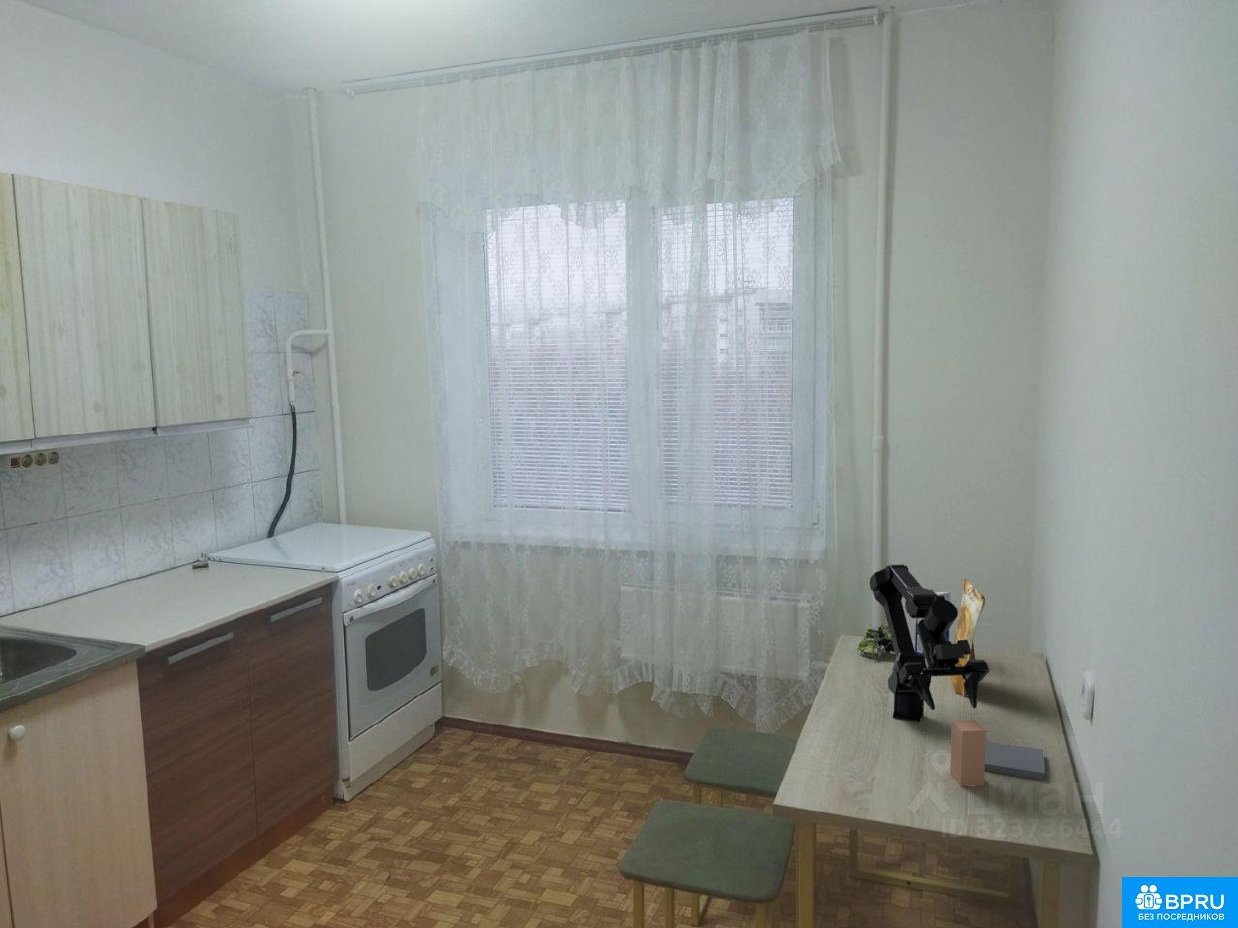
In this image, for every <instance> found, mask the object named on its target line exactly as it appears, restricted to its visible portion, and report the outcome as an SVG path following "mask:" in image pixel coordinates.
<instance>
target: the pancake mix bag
mask: <svg viewBox="0 0 1238 928" xmlns="http://www.w3.org/2000/svg"><path fill="white" fill-rule="evenodd" d="M961 580H962V593H961V594H962V595H961V603H960V610H959V614H958V615H959V616H958V621H957V626H956V630H955V635H954V641H953V644H957V641H959V640H968V643H969V645H970V650H971V653H970V654H968V655H964V658H959V662H958V664H955V666H956V667H957V666H965V664H966V663H967V662H968V660H976V653H975V646H974V636H975V633H976V628H977V624H978V622H979V619H980V617H981V614H982V611H983V610H984V607H985V604H986V598H985V596H984V595H983V594H982V593H981V592H980V591H979V589H977V588H976V587H975V585H974V584H973V583H972V582H970V581H969V579H967V578H966V577H965V578H962V579H961ZM949 678H950V681H951V684H952V687H953V689H954V690H955V691H954V692H955V694H958V693H959V694H958V695H962V696H963V697H968V696H967V692H966V689H965V686H964V682H965V681H966V680H964V679H963V677H962V675H956V676H949Z"/></svg>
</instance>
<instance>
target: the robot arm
mask: <svg viewBox="0 0 1238 928" xmlns="http://www.w3.org/2000/svg"><path fill="white" fill-rule="evenodd" d="M869 589H870V590H871V592H872V593H873V597H874V599H875V601H876V602H878V603H879V605H881V606H882V608H883V610H884V614H885V618H886V622H887V625H888V627H889V631H890V635H891V639H892V643H893V647H894V651H895V652H894V654H895V661H894V664H893V667H892V672H891V674H890V676H889V677H888V679H887V686H888V687H887V688H888V690H889V691H890V692H891V693H892V694H893V714H892V718H895V719H899V720H906V721H907V720H908V721H914V722H920V721H921V719H922V718H923V717H924V713H925V712H924V711H925V704H926V705H927V706H928V707H929V709H931V710H932V711H935V709H936V707H935V706H936V705H935V702H934V701H935V700H934V699H933V694H932V692H931V689H930V688H931V687H930V686H931V683H932V677H948V676H949V677H950V676H956V675H962V677H963V679H964V680H966V681H965V682H964V686H965V689H966V692H967V695H968V696H967V697H968V700H969V703H970V705H971V707H972V708H973V709H977V706H978V691H979V690H978V687H979V683H980V682H982V681H983V680H984V678H986V676H987V675H988V674H989V672H990V671H991V669H990V667H989V664H988V662H986V661H985V660H984V659H975V660H968V662H967V663H966V664H965V666H957V667H956V666H955V664H958V662H959V658H964V655H968V654H970V653H971V650H970V645H969V643H968V640H959V641H957V644H954V643H952V642H951V641H950V640H949V641H948V640H947V637H946V634H945V632H947V631H948V630H949V631H950V629H951V627H952V625H953V624H954V622H955V621H956V619H957V617H959V616H958V615H959V610H958V608H957V607H956V605H955V604H953V602H951V601H950V602H949V601H947V600H945V597H944V596H938V595H937V594H936V592H935V591H934V590H933V589H928V588H926V587H925V588H924V587H923V586H922V585H921V584H920V582H918V580H917V579H916V578H915V577H914V575H912V573H911V572H910V571H909V568H908V565H904V564H888V565H886V566H885V567H884V568H882V569H880V570H877V571H875V572H874V573H873V574H872V575H871V577H870V579H869ZM932 590H933V591H934V592H933V591H932ZM903 598H904V599H905V600H904V601H905V603H904V604H905V606H904V605H903V601H902V600H903ZM904 607H905V609H904ZM905 611H906V612H905ZM905 613H907V614H908V616H909V617H910V618H911V619H916V618H924V619H922V620H921V621H920V622H919V623H918V625H917V628H916V627H915V629H916V634H919V637H920V641H921V644H922V648H923V652H922V655H918V654H917V653H916V652H915V646H914V643H913V639H912V635H911V632H910V628H909V625H908V620H907V617H906V616H907V615H906V614H905ZM924 657H925V658H924Z"/></svg>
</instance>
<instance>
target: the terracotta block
mask: <svg viewBox="0 0 1238 928" xmlns="http://www.w3.org/2000/svg"><path fill="white" fill-rule="evenodd" d="M986 736H987V730H986V729H985V728H984V727H983V726H982V725H981V724H979V722H977V720H954V721H953V720H951V735H950V737H951V738H950V739H951V740H950V764H949V765H950V766H949V767H950V768H949V769H950V771H949V773H950V774H949V775H950V776H951V777H952V778H954V779H955V780H956V781H957V782H958V783H957V782H956V781H955V780H954V779H953V780H954V781H955V782H956V783H957V784H958V786H959V787H973V786H972V785H981V786H985V771H986V770H985V744H986V741H987V740H986V739H987V737H986ZM969 785H971V786H969Z"/></svg>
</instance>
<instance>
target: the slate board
mask: <svg viewBox="0 0 1238 928" xmlns="http://www.w3.org/2000/svg"><path fill="white" fill-rule="evenodd" d="M1045 765H1046V764H1045V755H1044V749H1041V748H1033V747H1028V746H1020V745H1014V744H1009V743H1008V744H1007V743H1001V742H995V741H994V742H993V741H988V740H986V744H985V771H986V770H988V771H987V772H992V771H993V773H999V774H1005V775H1010V776H1016V777H1023V778H1029V779H1036V780H1042V781H1045V780H1046V769H1045V767H1046V766H1045Z"/></svg>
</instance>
